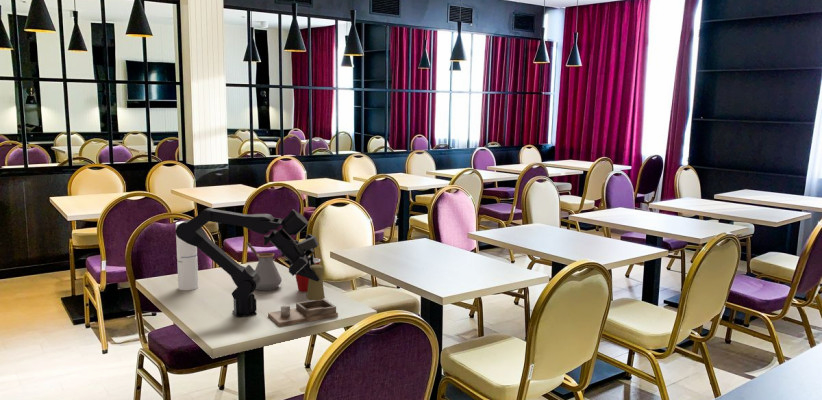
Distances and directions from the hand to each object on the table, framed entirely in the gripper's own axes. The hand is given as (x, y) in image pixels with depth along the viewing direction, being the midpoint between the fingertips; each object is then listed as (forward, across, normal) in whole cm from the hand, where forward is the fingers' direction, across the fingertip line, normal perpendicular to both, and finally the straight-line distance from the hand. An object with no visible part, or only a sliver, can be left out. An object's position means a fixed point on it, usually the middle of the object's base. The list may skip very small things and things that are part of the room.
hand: (319, 278), depth 208 cm
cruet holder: (+5, -2, +12) cm, 14 cm away
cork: (+4, 0, +6) cm, 7 cm away
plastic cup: (+3, +28, +15) cm, 32 cm away
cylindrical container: (-28, +30, +47) cm, 63 cm away
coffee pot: (-10, +34, +28) cm, 46 cm away
